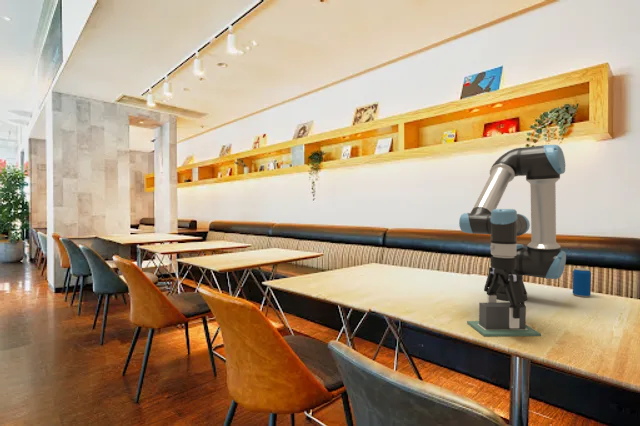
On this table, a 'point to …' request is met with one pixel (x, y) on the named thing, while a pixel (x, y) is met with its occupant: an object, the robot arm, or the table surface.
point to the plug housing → (498, 316)
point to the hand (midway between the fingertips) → (502, 320)
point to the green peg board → (503, 331)
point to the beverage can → (581, 282)
